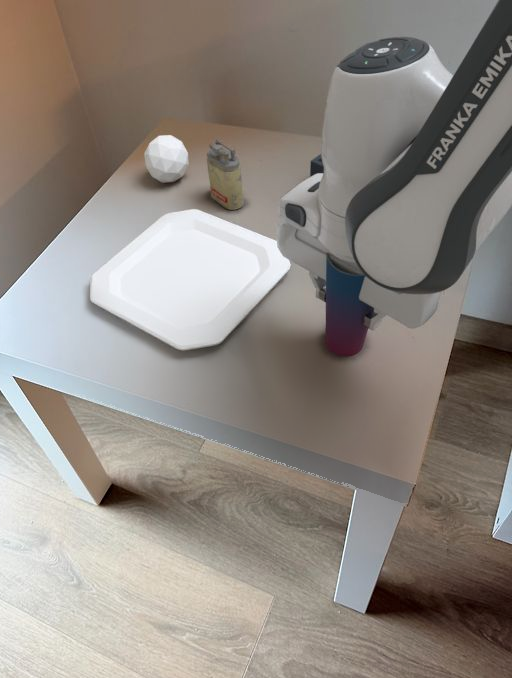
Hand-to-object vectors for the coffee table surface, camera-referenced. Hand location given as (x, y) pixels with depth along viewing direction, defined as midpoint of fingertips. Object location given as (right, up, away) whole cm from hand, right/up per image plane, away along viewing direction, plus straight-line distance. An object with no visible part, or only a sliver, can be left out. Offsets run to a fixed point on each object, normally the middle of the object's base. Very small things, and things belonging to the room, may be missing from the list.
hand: (347, 310), depth 66 cm
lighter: (-14, +23, +26) cm, 38 cm away
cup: (+1, -3, +5) cm, 6 cm away
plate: (-20, +6, +15) cm, 26 cm away
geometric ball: (-25, +28, +32) cm, 49 cm away
